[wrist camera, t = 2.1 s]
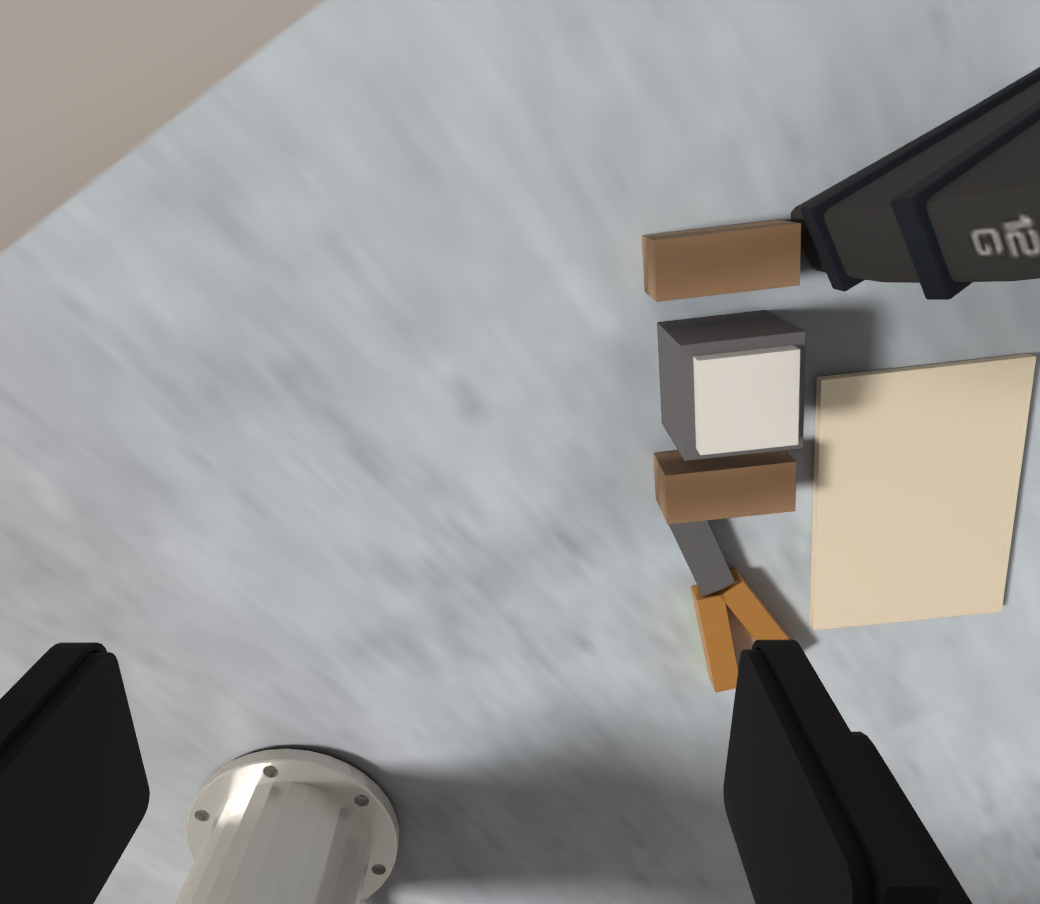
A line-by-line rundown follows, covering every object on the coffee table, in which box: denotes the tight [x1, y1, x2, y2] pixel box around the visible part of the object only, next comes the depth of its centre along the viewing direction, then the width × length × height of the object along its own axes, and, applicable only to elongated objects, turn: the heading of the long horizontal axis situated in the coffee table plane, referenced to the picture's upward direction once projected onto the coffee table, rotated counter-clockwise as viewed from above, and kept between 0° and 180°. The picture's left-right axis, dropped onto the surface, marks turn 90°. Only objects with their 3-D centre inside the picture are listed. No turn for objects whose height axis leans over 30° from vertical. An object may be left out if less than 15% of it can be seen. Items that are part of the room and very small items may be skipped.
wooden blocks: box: [642, 220, 801, 524], centre depth 33 cm, size 13×6×3 cm, turn 6°
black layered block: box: [791, 67, 1040, 300], centre depth 27 cm, size 4×13×15 cm, turn 120°
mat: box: [809, 353, 1036, 630], centre depth 37 cm, size 14×10×1 cm
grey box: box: [657, 310, 806, 461], centre depth 32 cm, size 5×5×6 cm
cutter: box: [669, 520, 791, 692], centre depth 38 cm, size 11×5×1 cm, turn 26°
